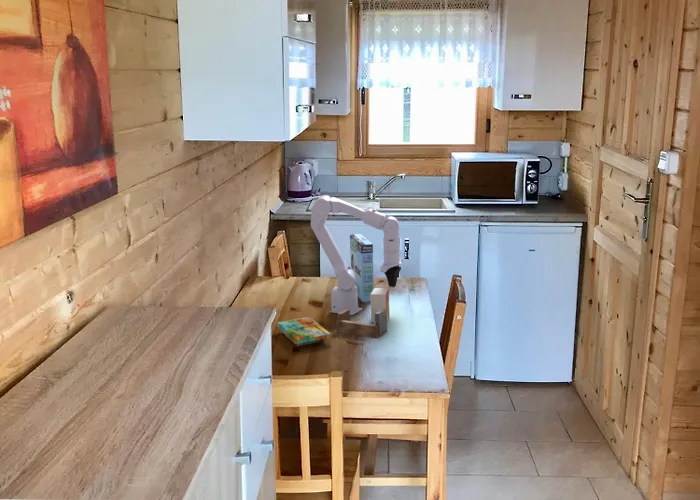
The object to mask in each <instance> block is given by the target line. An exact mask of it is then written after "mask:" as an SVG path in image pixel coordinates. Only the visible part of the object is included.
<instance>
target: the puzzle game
mask: <svg viewBox="0 0 700 500" xmlns="http://www.w3.org/2000/svg"><path fill="white" fill-rule="evenodd" d="M276 327H277V328H278V329H279V330H280V331H281V333H282V334H283V335H284V334H285V335H284V336H285V337H287V339H289V340H290V341H291V342H292V343H293V344H294V345H295V346H296V347H300V346H305V345H310V344H315V343H320V342H324V341H325V340H326V339H330V338H332V334H331V332H330V331H328V330H327V329H325V328H324V327H323V326H322V325H320V323H318V322H316V320H314V319H313V318H312V317H311V316H305V317H300V318H295V319H294V318H293V319H290V320H288V319H287V320H282V321H278V322H276Z"/></svg>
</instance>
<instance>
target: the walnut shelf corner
mask: <svg viewBox="0 0 700 500" xmlns="http://www.w3.org/2000/svg"><path fill="white" fill-rule="evenodd" d="M335 322H336V325H335V326H336V332H337V333H342V334H343V333H344V334H348V335H355V336H360V337H366V338H372V339H378V338H380V337H379V325H375V324H371V323H365V322H360V321H359V322H358V321H351V315H350V310H349V309H345V310H343V311H341V312H340V313H337V320H336V321H335Z"/></svg>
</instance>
